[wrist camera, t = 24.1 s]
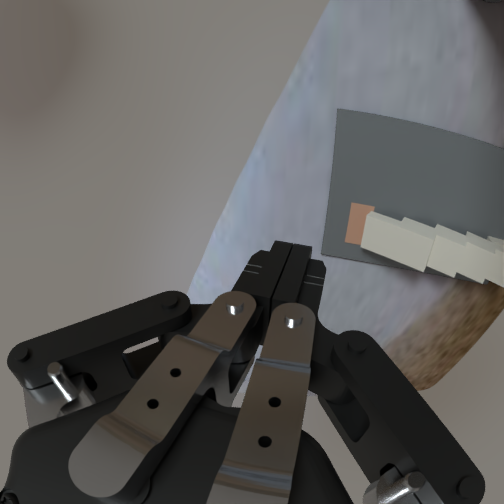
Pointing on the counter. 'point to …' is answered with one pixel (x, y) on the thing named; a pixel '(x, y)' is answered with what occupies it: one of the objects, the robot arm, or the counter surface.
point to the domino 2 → (443, 249)
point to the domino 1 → (397, 240)
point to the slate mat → (409, 183)
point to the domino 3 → (473, 256)
